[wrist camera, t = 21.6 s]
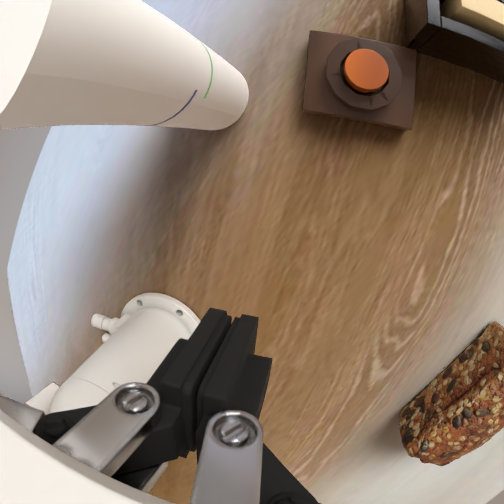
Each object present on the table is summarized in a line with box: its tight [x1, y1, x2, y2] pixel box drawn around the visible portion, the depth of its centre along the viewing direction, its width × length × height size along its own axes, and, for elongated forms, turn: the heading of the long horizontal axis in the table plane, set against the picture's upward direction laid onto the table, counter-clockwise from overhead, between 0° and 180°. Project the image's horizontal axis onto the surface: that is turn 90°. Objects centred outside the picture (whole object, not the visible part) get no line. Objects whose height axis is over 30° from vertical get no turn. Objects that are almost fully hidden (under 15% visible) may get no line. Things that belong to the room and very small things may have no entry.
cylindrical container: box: [0, 0, 249, 130], centre depth 17 cm, size 7×7×25 cm
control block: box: [303, 31, 417, 131], centre depth 24 cm, size 10×8×4 cm
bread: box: [399, 321, 504, 466], centre depth 28 cm, size 19×11×10 cm, turn 149°
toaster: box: [404, 0, 504, 83], centre depth 17 cm, size 13×7×8 cm, turn 85°
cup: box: [24, 383, 59, 415], centre depth 47 cm, size 5×5×12 cm
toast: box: [440, 0, 504, 41], centre depth 16 cm, size 8×2×8 cm, turn 84°
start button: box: [344, 49, 389, 93], centre depth 21 cm, size 4×4×2 cm
